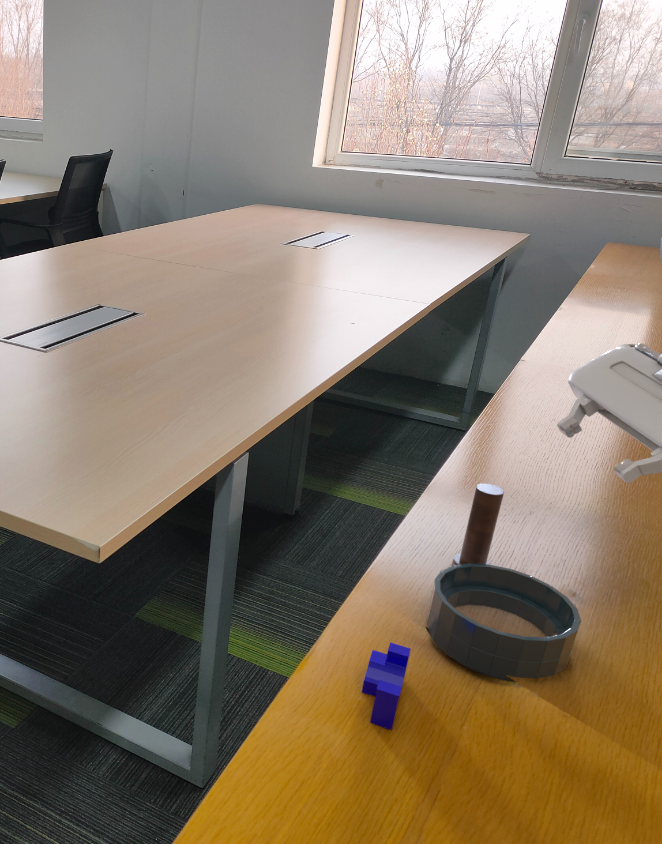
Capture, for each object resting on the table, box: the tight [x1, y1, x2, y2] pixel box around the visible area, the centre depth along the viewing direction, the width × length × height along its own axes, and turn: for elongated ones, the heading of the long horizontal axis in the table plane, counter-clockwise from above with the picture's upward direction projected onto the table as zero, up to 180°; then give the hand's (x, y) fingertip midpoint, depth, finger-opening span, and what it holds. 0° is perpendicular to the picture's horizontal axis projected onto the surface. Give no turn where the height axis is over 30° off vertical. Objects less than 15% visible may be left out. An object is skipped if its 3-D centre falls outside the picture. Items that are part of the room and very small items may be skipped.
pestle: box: [450, 483, 505, 567], centre depth 97 cm, size 4×4×13 cm
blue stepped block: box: [361, 642, 412, 731], centre depth 79 cm, size 8×4×4 cm, turn 153°
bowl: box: [425, 563, 582, 683], centre depth 87 cm, size 14×14×6 cm
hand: (589, 452), depth 90 cm, fingers open, 8 cm apart
